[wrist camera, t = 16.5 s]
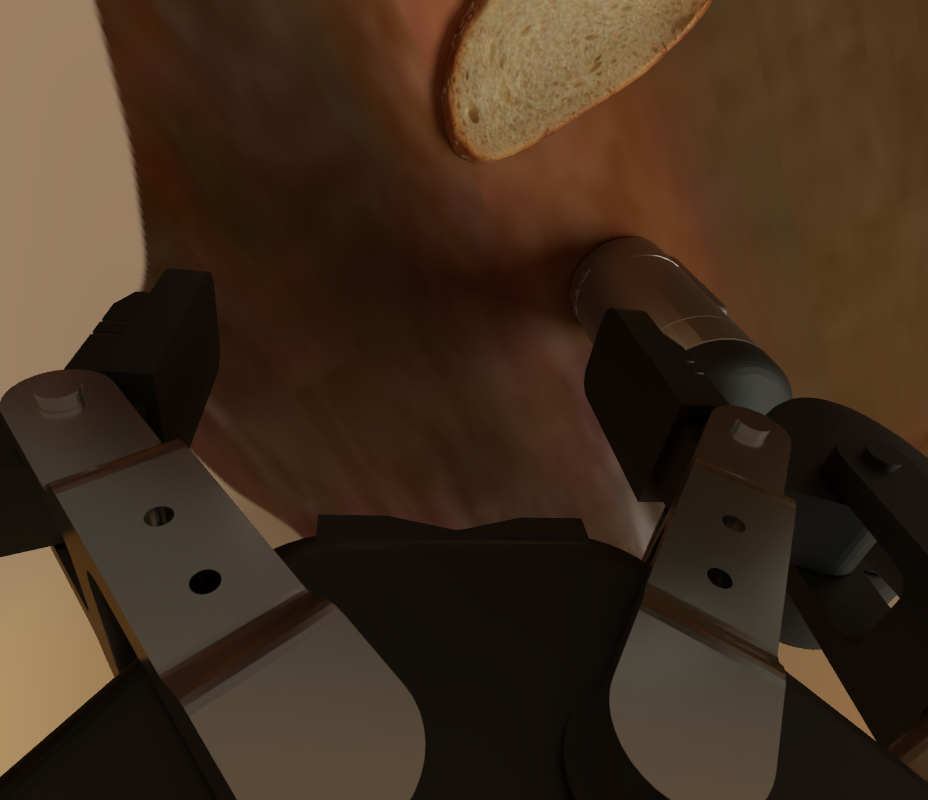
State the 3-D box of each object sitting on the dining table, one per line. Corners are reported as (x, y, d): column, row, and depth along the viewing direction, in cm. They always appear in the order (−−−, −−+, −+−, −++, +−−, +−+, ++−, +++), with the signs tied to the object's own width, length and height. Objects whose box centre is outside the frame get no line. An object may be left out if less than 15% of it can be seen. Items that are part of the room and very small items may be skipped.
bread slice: (436, 161, 45) (441, 175, 42) (456, -157, 35) (464, -169, 32) (656, 174, 48) (675, 188, 45) (735, -117, 38) (766, -123, 35)
